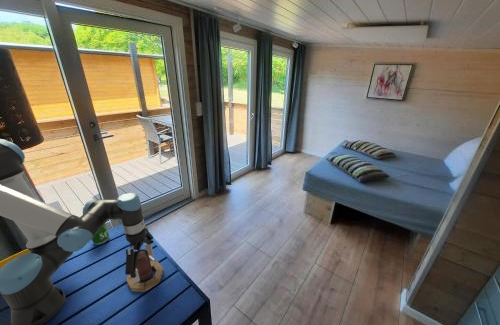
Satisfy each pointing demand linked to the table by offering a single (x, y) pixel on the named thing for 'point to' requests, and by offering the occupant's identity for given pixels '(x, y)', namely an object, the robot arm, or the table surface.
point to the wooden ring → (149, 284)
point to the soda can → (101, 235)
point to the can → (144, 266)
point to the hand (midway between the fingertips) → (143, 267)
